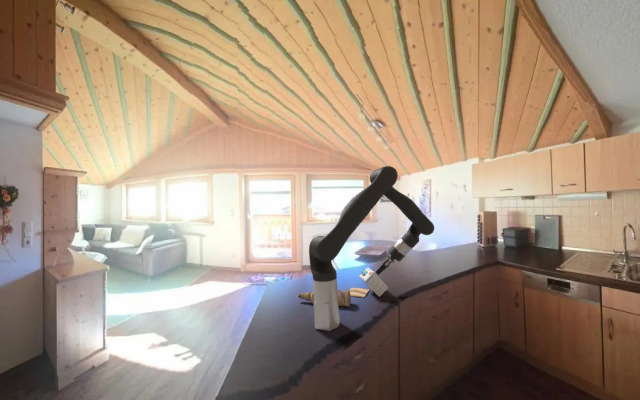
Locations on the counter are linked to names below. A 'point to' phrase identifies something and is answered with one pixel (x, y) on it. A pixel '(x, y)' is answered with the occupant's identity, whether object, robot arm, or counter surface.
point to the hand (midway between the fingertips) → (377, 273)
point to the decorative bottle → (343, 297)
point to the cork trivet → (358, 292)
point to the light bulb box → (373, 281)
